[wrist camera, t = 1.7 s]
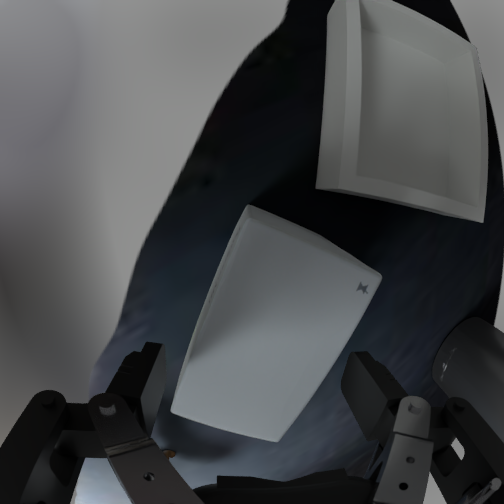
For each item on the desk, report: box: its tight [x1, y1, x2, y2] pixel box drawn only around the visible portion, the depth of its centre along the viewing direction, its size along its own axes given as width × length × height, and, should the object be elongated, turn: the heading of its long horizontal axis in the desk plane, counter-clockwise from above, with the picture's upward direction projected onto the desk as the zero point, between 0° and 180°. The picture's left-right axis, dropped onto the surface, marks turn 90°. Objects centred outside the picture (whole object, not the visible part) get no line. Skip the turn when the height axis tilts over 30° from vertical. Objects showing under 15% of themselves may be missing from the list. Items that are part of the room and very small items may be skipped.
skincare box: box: [171, 205, 382, 442], centre depth 16 cm, size 10×6×10 cm, turn 157°
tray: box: [315, 0, 488, 223], centre depth 16 cm, size 13×16×5 cm
